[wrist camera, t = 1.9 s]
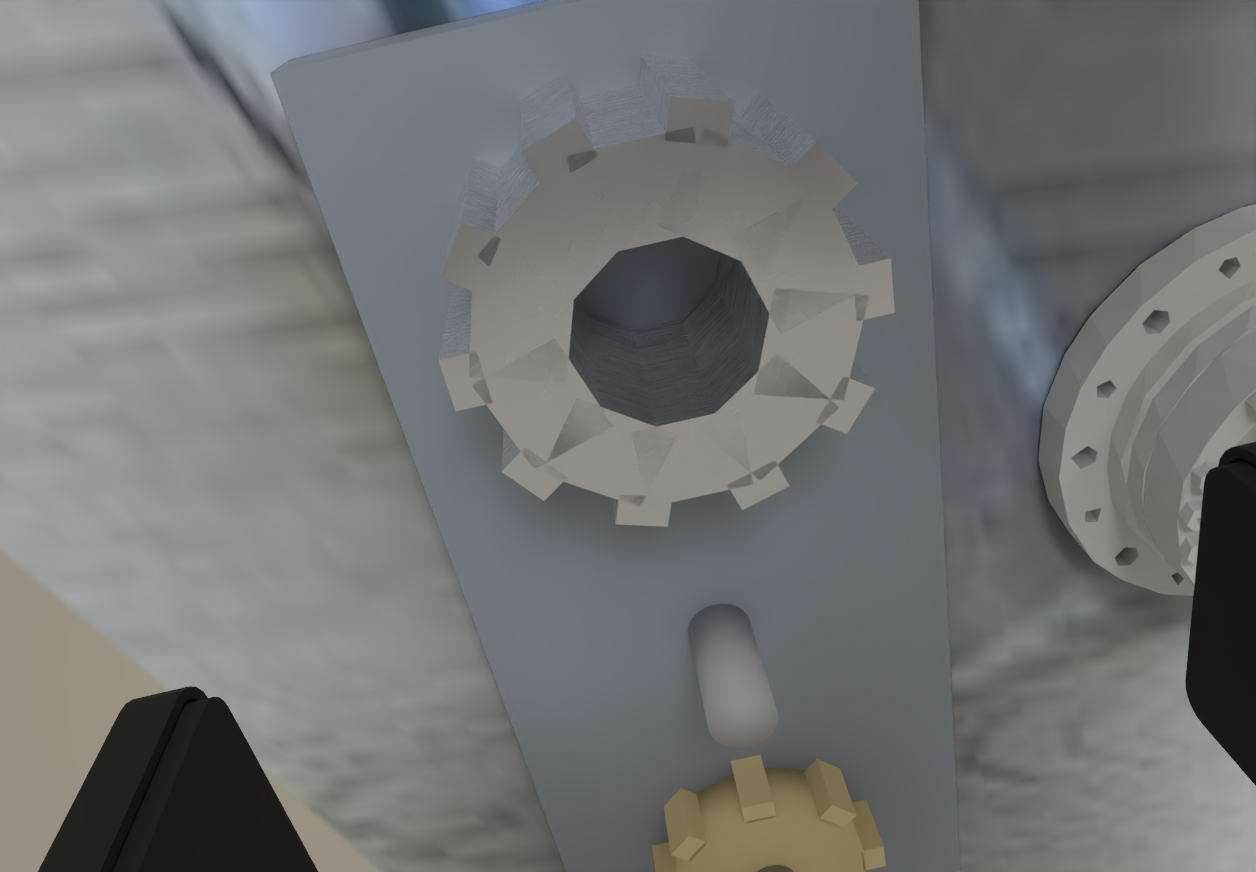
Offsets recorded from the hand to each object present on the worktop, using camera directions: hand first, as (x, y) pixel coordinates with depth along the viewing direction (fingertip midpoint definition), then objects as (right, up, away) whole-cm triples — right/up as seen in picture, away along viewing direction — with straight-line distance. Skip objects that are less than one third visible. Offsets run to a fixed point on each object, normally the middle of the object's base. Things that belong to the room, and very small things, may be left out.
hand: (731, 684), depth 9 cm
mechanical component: (+14, +3, +14) cm, 20 cm away
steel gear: (-1, +6, +9) cm, 11 cm away
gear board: (+1, 0, +14) cm, 14 cm away
